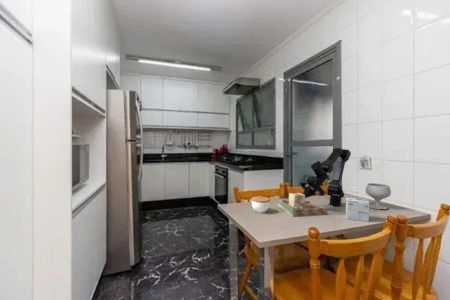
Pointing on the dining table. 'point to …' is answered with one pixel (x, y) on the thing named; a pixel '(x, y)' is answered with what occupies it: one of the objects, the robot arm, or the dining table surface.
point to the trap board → (301, 209)
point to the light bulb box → (357, 209)
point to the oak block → (297, 200)
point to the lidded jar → (260, 204)
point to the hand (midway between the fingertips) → (302, 198)
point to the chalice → (378, 194)
